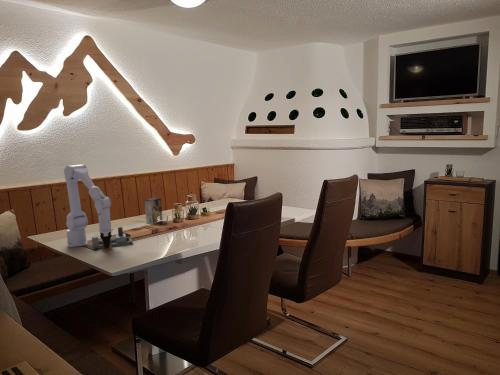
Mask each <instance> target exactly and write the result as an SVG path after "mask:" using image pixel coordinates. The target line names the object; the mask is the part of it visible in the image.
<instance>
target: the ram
mask: <svg viewBox="0 0 500 375" xmlns="http://www.w3.org/2000/svg"><path fill="white" fill-rule="evenodd" d="M123 229H124V228H123V227H122V226H118V227H117V233H118V234H117V233H116V234H115V239H116V242H115V243H120V242H127V240H126V237H127V236H126V233H124V231H123Z"/></svg>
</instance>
